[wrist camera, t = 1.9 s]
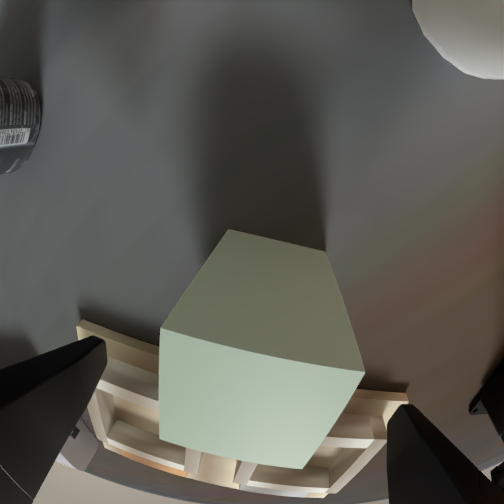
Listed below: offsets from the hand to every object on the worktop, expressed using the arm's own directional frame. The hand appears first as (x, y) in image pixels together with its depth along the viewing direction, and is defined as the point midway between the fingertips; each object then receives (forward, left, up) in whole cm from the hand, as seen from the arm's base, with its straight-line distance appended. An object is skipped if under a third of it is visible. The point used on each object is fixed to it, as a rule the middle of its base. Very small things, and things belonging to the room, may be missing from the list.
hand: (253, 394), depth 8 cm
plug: (0, 0, -7) cm, 7 cm away
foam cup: (-7, -16, -7) cm, 19 cm away
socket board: (0, +13, -7) cm, 15 cm away
